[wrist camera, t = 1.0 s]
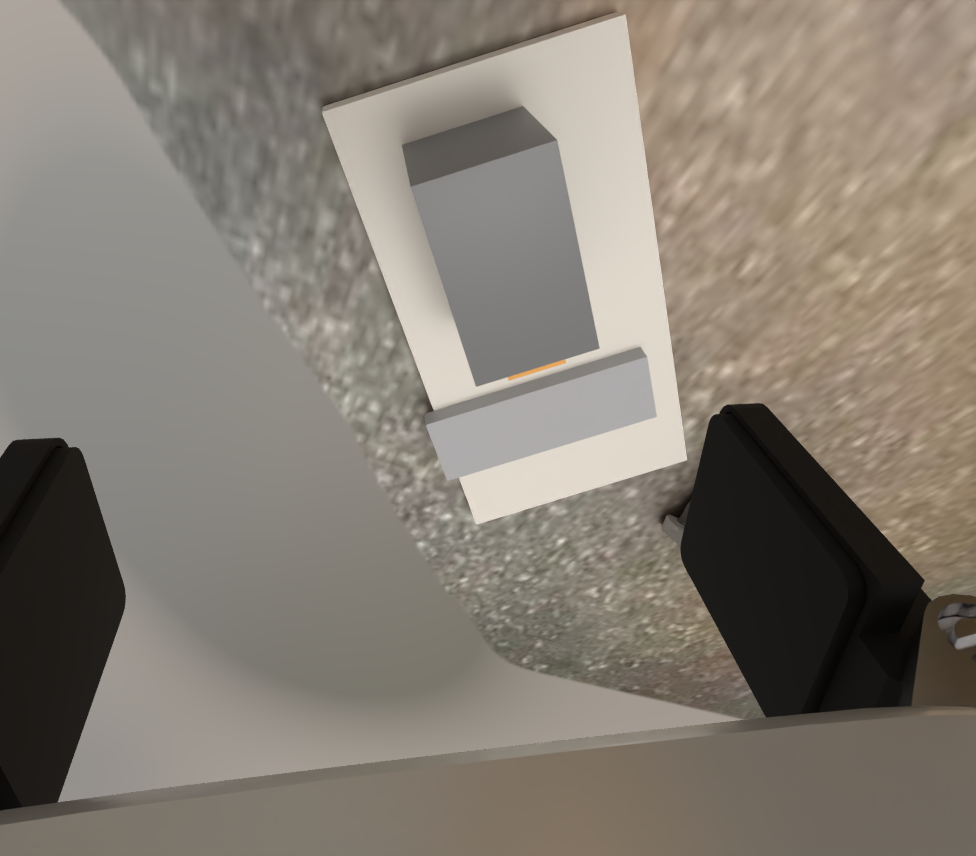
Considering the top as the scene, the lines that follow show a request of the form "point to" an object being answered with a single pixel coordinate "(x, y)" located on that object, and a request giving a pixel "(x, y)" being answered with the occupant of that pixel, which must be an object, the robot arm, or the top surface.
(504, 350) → the block
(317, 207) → the top surface
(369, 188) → the plate
